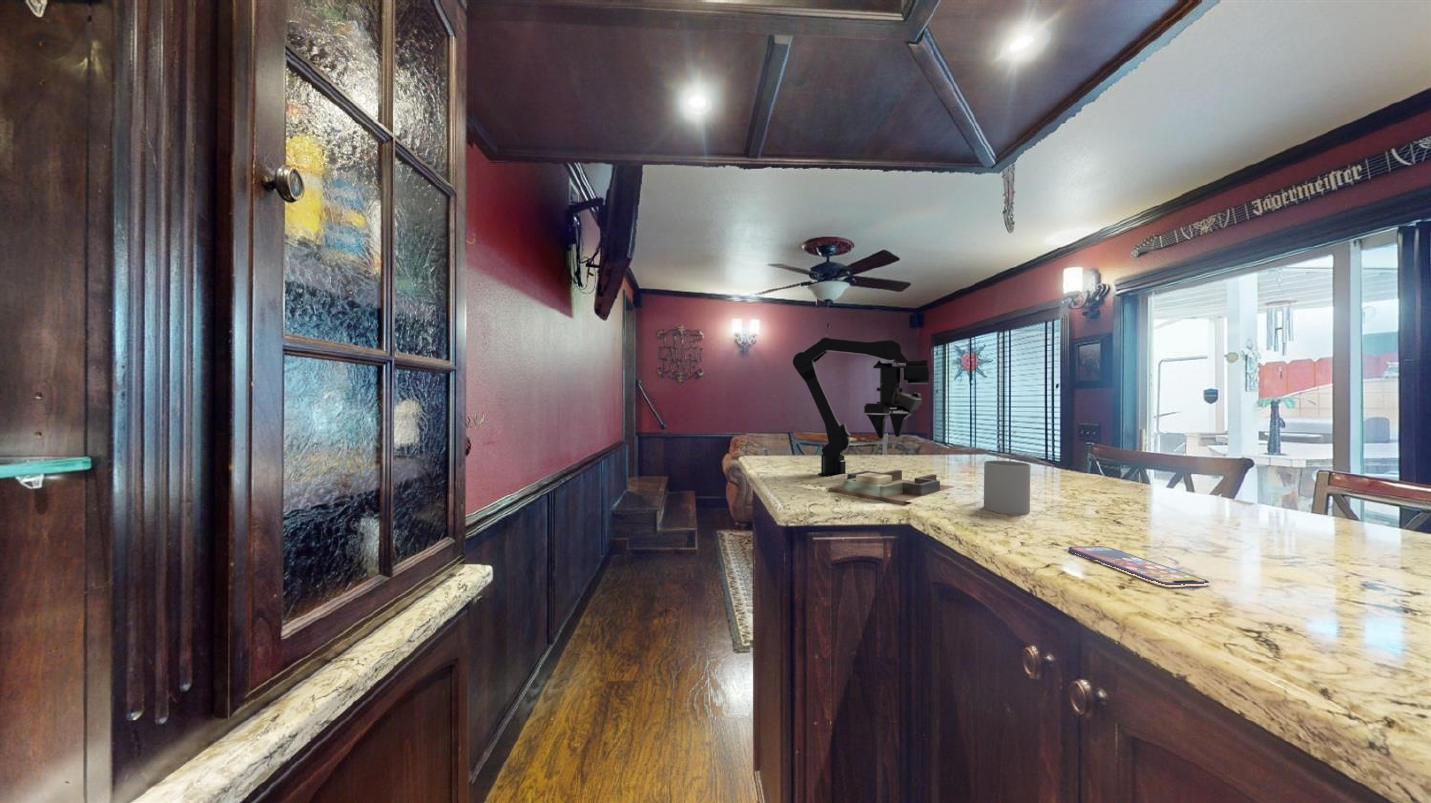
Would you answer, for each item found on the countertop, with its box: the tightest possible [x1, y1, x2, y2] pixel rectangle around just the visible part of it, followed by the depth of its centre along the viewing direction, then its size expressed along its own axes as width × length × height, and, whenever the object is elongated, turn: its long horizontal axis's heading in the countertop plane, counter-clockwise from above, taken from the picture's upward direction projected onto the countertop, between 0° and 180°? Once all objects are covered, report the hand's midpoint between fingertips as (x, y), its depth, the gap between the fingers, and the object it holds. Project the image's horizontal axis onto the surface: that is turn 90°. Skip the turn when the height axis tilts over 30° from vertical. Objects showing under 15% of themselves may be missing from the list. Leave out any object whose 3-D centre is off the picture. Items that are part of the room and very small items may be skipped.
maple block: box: [856, 472, 892, 485], centre depth 116 cm, size 6×6×4 cm
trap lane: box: [827, 469, 954, 507], centre depth 122 cm, size 20×26×4 cm
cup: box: [983, 460, 1032, 516], centre depth 102 cm, size 8×8×10 cm
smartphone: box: [1068, 545, 1210, 585], centre depth 69 cm, size 1×7×15 cm
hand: (889, 437), depth 140 cm, fingers open, 9 cm apart
